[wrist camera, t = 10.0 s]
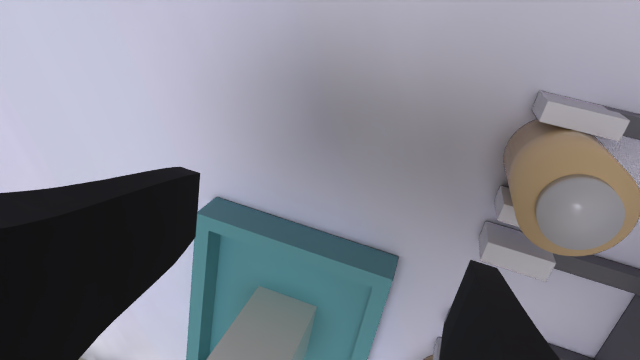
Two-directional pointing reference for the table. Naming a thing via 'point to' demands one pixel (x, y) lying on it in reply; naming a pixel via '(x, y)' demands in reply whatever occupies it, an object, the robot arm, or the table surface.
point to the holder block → (528, 259)
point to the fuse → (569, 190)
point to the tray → (284, 279)
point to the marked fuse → (268, 329)
